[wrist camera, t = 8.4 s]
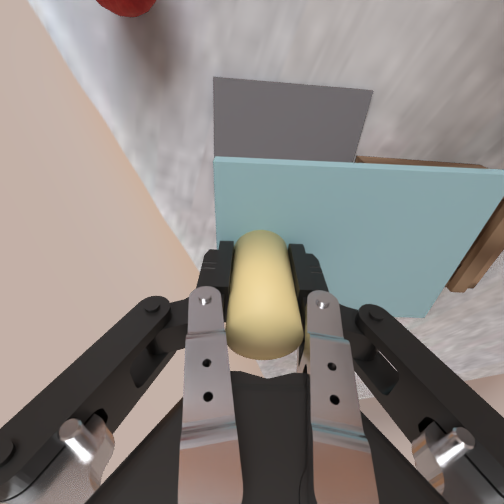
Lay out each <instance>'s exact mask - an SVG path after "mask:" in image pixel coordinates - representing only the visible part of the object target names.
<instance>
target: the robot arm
mask: <svg viewBox="0 0 504 504" xmlns="http://www.w3.org/2000/svg"><path fill="white" fill-rule="evenodd" d="M233 253H234V241H220V244H219V249H218V250H213V249H210V250H209V251H208V252H207V253H206V254H205V255H204V259H203V263H202V267H201V271H200V275H199V279H198V283H197V287H196V289H195V290H193V291H192V292H191V294H190V296H189V297H188V298H186V299H184V300H181V301H176V302H172V303H169V301H168V300H167V299H166V298H164V297H162V296H151V297H148V298H145V299H144V300H142V301H141V302H139V303H138V304H137V305H136V306H135V307H134V308H133V309H132V310H130V311H129V312H128V313H127V314H126V315H125V316H124V317H123V318H122V319H121V320H119V321H118V322H117V323H116V324H115V325H114V326H113V327H112V328H111V329H110V330H108V332H106V333H105V334H104V335H103V336H102V337H101V338H100V339H99V340H97V341H96V342H95V343H94V344H93V345H92V346H91V347H90V348H89V349H88V350H86V351H85V352H84V353H83V354H82V355H81V356H80V357H79V358H78V359H77V360H75V361H74V363H72V364H71V365H70V366H69V367H68V368H67V369H66V370H64V371H63V372H62V373H61V374H60V375H59V376H58V377H57V378H56V379H55V380H53V382H51V383H50V384H49V385H48V386H47V387H46V388H45V389H44V390H42V391H41V392H40V393H39V394H38V395H37V396H36V397H35V398H34V399H33V400H31V401H30V402H29V403H28V404H27V405H26V406H25V407H24V408H23V409H22V410H21V411H19V412H18V413H17V414H16V415H15V416H14V417H13V418H12V419H11V420H9V422H7V423H6V424H5V425H4V426H3V427H2V428H1V429H0V504H504V418H503V417H502V416H501V415H500V414H499V413H498V412H497V411H496V410H494V409H493V408H492V407H491V406H490V405H489V404H488V403H487V402H486V401H485V400H484V399H483V398H481V397H480V396H479V395H478V394H477V393H476V392H475V391H474V390H472V388H471V387H469V386H468V385H467V384H466V383H465V382H464V381H463V380H462V379H461V378H460V377H459V376H457V375H456V374H455V373H454V372H453V371H452V370H451V369H450V368H449V367H448V366H447V365H445V364H444V363H443V362H442V361H441V360H440V359H439V358H438V357H437V356H436V355H435V354H433V353H432V352H431V351H430V350H429V349H428V348H427V347H426V346H425V345H424V344H423V343H421V342H420V341H419V340H418V339H417V338H416V337H415V336H414V335H413V334H412V333H411V332H409V331H408V330H407V329H406V328H405V327H404V326H403V325H402V324H401V323H400V322H399V321H397V320H396V319H395V318H394V317H393V316H392V315H391V314H390V313H389V312H388V311H386V310H385V309H384V308H382V307H380V306H377V305H374V304H365V305H362V306H361V307H360V308H359V310H357V309H353V308H350V307H346V306H343V305H341V304H339V302H338V300H337V298H336V297H335V296H334V295H332V294H331V293H329V290H328V287H327V284H326V281H325V278H324V275H323V273H322V269H321V266H320V263H319V260H318V259H317V258H316V257H315V256H314V255H313V254H309V253H306V252H305V248H304V245H303V244H290V243H289V245H288V255H289V260H290V265H291V271H292V276H293V281H294V287H295V292H296V297H297V302H298V307H299V312H300V317H301V323H302V328H303V335H304V336H303V340H302V343H301V344H300V346H299V347H298V348H297V372H296V373H291V374H287V375H283V376H278V377H274V378H270V379H266V378H262V377H259V376H255V375H252V374H248V373H245V372H241V371H230V368H229V358H228V349H227V339H226V332H225V329H224V322H226V319H227V309H228V302H229V293H230V283H231V273H232V263H233ZM183 348H185V366H184V392H183V394H184V395H183V397H182V398H181V400H180V401H179V402H178V403H177V404H176V405H175V406H174V407H173V408H172V409H171V410H170V411H169V413H168V414H167V415H166V416H165V417H164V418H163V419H162V420H161V421H160V422H159V423H158V424H157V426H156V427H155V428H154V429H153V430H152V431H151V432H150V433H149V434H148V435H147V436H146V437H145V438H144V440H143V441H142V442H141V443H140V444H139V445H138V446H137V447H136V448H135V449H134V450H133V451H132V452H131V453H130V455H129V456H128V457H127V458H126V459H125V460H124V461H123V462H122V463H121V464H120V465H119V467H118V468H117V469H116V470H115V471H114V472H113V473H112V474H111V475H110V476H109V477H108V478H107V479H106V480H105V482H104V483H103V484H102V485H101V486H100V484H101V477H102V474H103V471H104V469H105V467H106V465H107V463H108V462H109V460H110V458H111V456H112V454H113V450H114V446H115V441H114V437H113V433H114V432H115V430H116V429H117V428H118V426H119V425H120V424H121V422H122V421H123V420H124V419H125V417H126V416H127V415H128V414H129V412H130V411H131V410H132V408H133V407H134V406H135V405H136V403H137V402H138V400H139V399H140V398H141V396H142V395H143V394H144V393H145V392H146V390H147V389H148V388H149V386H150V385H151V384H152V383H153V381H154V380H155V379H156V377H157V376H158V375H159V373H160V372H161V371H162V369H163V368H164V367H165V366H166V364H167V363H168V362H169V361H170V359H171V358H172V357H173V355H174V354H175V353H176V351H177V350H180V349H183ZM379 351H380V352H381V353H382V354H383V355H384V356H385V357H386V359H387V360H388V361H389V362H390V363H391V364H392V365H393V366H394V367H395V369H396V370H397V371H396V370H395V369H394V368H393V367H392V366H391V364H390V363H389V362H388V361H387V360H386V359H385V358H384V357H383V356H382V355H381V354H380V352H379ZM354 371H355V372H356V373H357V375H358V376H359V377H360V378H361V380H362V381H363V382H364V384H365V385H366V386H367V387H368V389H369V390H370V391H371V392H372V394H373V395H374V396H375V398H376V399H377V400H378V401H379V403H380V404H381V405H382V406H383V408H384V409H385V410H386V412H387V413H388V414H389V415H390V417H391V418H392V419H393V420H394V422H395V423H396V424H397V426H398V427H399V428H400V429H401V431H402V432H403V433H404V435H405V436H406V437H407V439H408V440H409V441H410V442H411V444H412V453H413V457H414V459H415V466H416V468H417V469H416V468H415V467H414V466H413V465H412V464H411V463H410V462H409V461H408V460H407V459H406V458H405V457H404V456H403V455H402V454H401V453H400V452H399V450H398V449H397V448H396V447H395V446H394V445H393V444H392V443H391V442H390V441H389V440H388V439H387V438H386V437H385V436H384V435H383V434H382V433H381V432H380V431H379V430H378V429H377V428H376V427H375V425H374V424H373V423H372V422H371V421H370V420H369V419H368V418H367V417H366V416H365V415H364V414H363V413H362V412H361V411H360V406H359V399H358V393H357V386H356V380H355V373H354Z"/></svg>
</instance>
